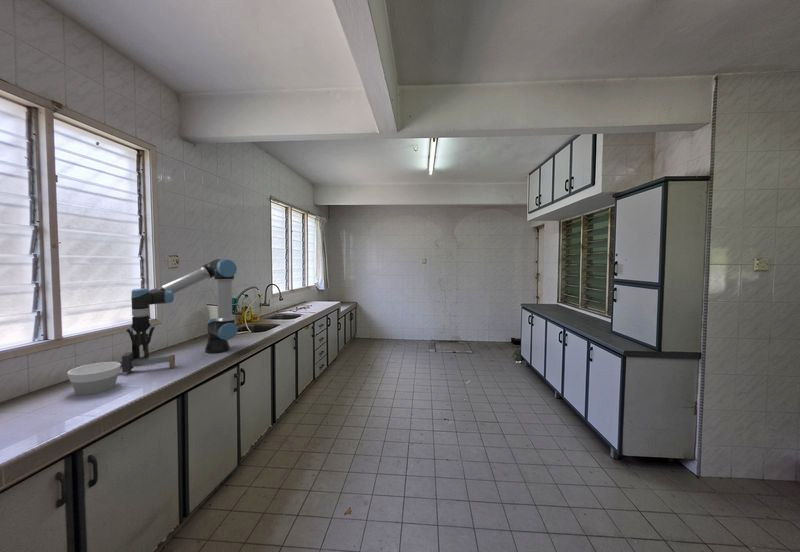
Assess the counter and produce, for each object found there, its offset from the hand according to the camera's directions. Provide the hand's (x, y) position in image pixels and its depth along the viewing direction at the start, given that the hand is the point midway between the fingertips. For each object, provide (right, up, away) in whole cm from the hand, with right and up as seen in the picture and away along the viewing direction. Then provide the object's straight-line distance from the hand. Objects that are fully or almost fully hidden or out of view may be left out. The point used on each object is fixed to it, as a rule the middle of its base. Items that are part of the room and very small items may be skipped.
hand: (142, 356), depth 185 cm
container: (-11, -8, +13) cm, 19 cm away
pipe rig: (0, -8, 0) cm, 8 cm away
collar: (-6, -7, -3) cm, 9 cm away
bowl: (-2, -10, -26) cm, 28 cm away
